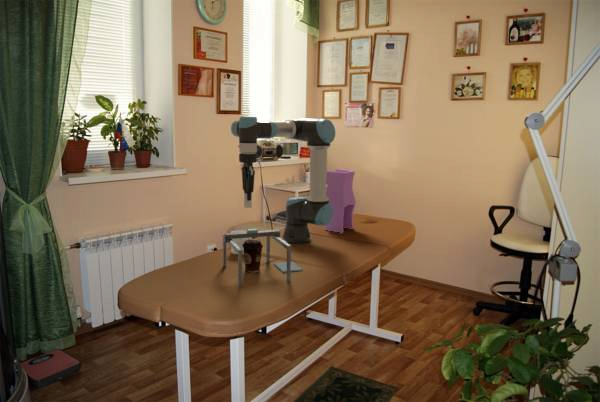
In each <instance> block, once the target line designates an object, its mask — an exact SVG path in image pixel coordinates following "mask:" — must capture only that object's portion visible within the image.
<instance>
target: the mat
mask: <svg viewBox="0 0 600 402" xmlns="http://www.w3.org/2000/svg"><path fill="white" fill-rule="evenodd" d="M273 265H274V266H275V267H276V268H277V269H278V270H279V271H281V272H282V273H287V261H283V262H275V263H273ZM294 271H295V272H303V268H302V267H300V266H299V265H297V263H296V262H294V261H291V273H292V272H293V273H294Z"/></svg>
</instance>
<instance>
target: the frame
mask: <svg viewBox="0 0 600 402" xmlns="http://www.w3.org/2000/svg"><path fill="white" fill-rule="evenodd" d="M224 233H225V232H223V233H222V238H223V235H224ZM271 239H273V240H274V241H275V242H277V243H278V244H279V245H281V246H282V247H283V248H284V249H286V262H287V272H286V282H287V283H290V282H291V273H292V272H291V262H292V261H291V260H292V245H291V244H289V242H286V241H284V240H283V238H281V236H280V237H279V236H266V253H265V254H266V256H265V257H266V259H265V260H266V263H267V264H269V263H271V261H270V259H271V258H270V257H271V255H270V254H271ZM227 244H228V245H229V246H230V248H231V247H232V248H233V249H234V250H235V251H236V252H237V253H238V256H237V260H238V264H237V270H238V271H237V273H238V274H237V275H238V276H237V278H238V279H237V280H238V284H237V285H238V288H243V255H244V254H243V250H242V249H241V248H240V247H239V246H238V245H237V244H236V243H235V242H234V241H233V240H232V239H227V243H224V241H223V240H222V268H226V267H227Z"/></svg>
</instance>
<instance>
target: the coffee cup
mask: <svg viewBox="0 0 600 402" xmlns="http://www.w3.org/2000/svg"><path fill="white" fill-rule="evenodd" d="M242 246H243V248H244V251H243V252H244V254H243V261H244V266H245V267H244V271H246V272H249V273H259V272H260V271H261V269H260V268H261V261H262V260H261V259H262V251H263V247H264V246H263V243H262V241H261V240H258V239H253V240H249V239H248V240H245V241H244V244H243V245H242Z"/></svg>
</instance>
